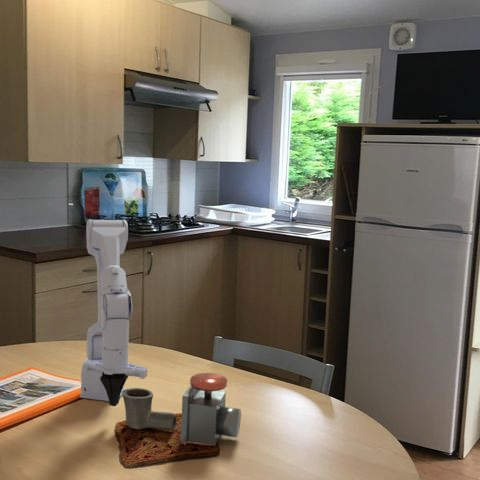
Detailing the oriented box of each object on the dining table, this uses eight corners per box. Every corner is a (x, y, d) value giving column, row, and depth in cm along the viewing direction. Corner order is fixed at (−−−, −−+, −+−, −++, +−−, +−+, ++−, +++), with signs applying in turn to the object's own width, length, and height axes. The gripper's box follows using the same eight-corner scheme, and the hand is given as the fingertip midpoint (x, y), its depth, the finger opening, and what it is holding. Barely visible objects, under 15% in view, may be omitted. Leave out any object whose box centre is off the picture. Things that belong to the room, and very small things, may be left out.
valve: (178, 444, 132) (180, 386, 130) (192, 422, 143) (195, 368, 141) (231, 452, 130) (235, 393, 128) (242, 429, 141) (245, 374, 139)
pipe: (170, 437, 135) (171, 403, 134) (115, 429, 138) (116, 395, 137) (178, 425, 141) (180, 392, 140) (126, 418, 144) (126, 385, 142)
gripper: (76, 348, 136) (76, 407, 138) (139, 355, 133) (138, 415, 135) (91, 338, 142) (90, 394, 145) (151, 345, 140) (149, 403, 142)
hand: (114, 404), depth 140 cm, fingers closed
